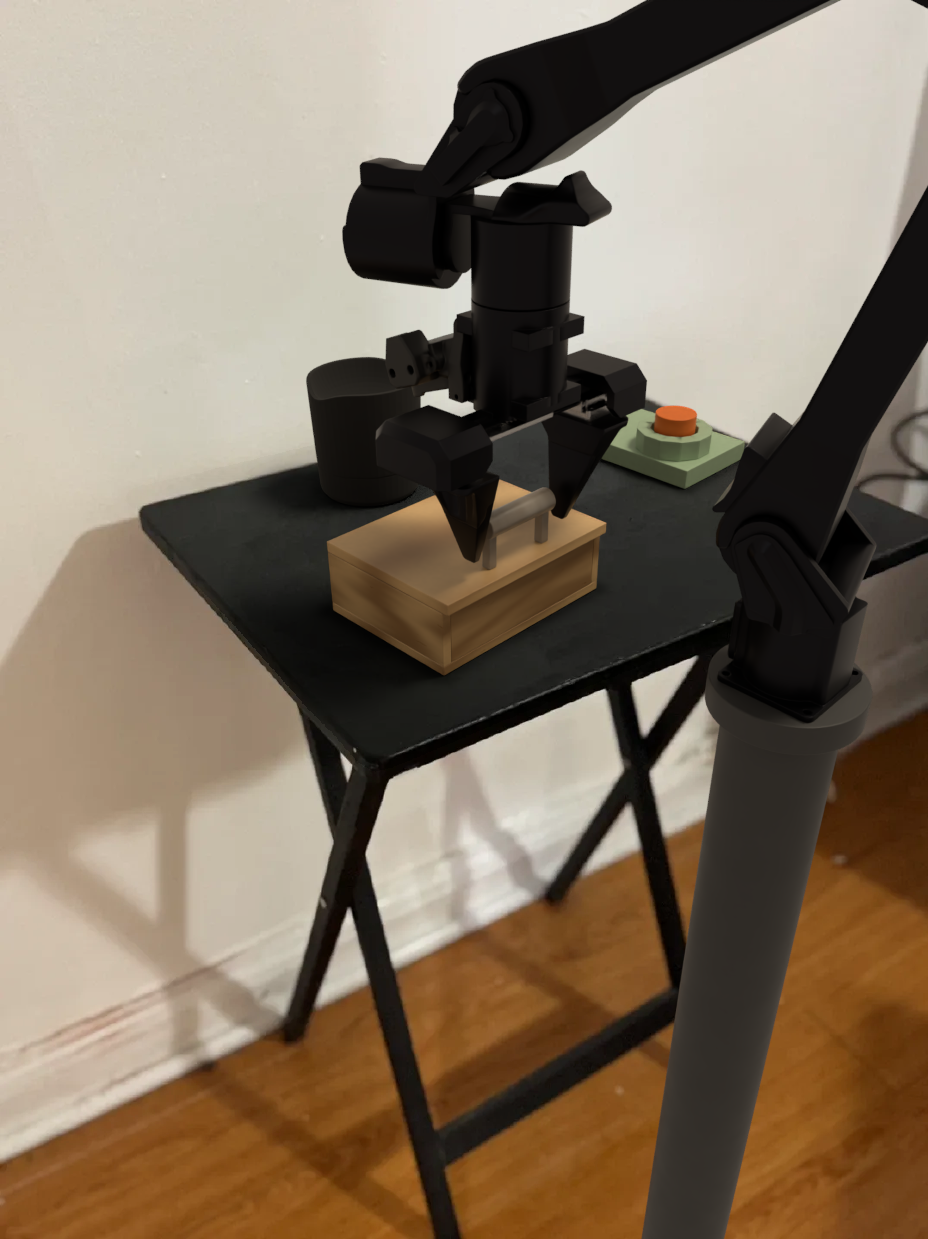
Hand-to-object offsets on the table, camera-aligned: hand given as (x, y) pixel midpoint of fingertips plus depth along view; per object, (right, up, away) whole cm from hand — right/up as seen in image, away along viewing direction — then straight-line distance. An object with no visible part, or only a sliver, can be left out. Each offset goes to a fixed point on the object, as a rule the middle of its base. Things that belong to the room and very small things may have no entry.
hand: (516, 537), depth 69 cm
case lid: (-3, 0, +4) cm, 5 cm away
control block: (+15, +10, +28) cm, 33 cm away
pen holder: (-12, +6, +23) cm, 26 cm away
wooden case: (-3, -4, +6) cm, 8 cm away
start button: (+15, +11, +24) cm, 31 cm away
